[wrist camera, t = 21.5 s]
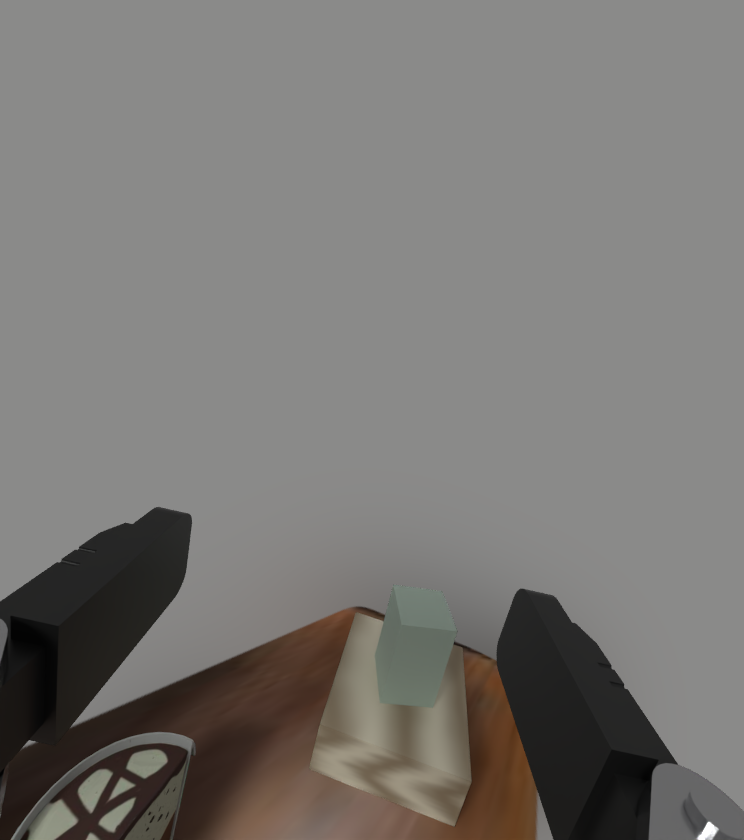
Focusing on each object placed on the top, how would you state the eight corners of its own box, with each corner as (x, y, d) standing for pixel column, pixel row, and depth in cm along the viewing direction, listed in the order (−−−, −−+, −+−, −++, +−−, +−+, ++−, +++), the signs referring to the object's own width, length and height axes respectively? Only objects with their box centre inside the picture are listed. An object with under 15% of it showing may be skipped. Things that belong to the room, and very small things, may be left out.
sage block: (379, 702, 38) (401, 624, 35) (374, 655, 43) (393, 584, 41) (432, 707, 38) (457, 631, 36) (421, 660, 44) (442, 591, 42)
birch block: (308, 772, 36) (319, 724, 34) (346, 649, 50) (356, 612, 49) (453, 829, 34) (471, 781, 33) (449, 685, 48) (462, 647, 47)
